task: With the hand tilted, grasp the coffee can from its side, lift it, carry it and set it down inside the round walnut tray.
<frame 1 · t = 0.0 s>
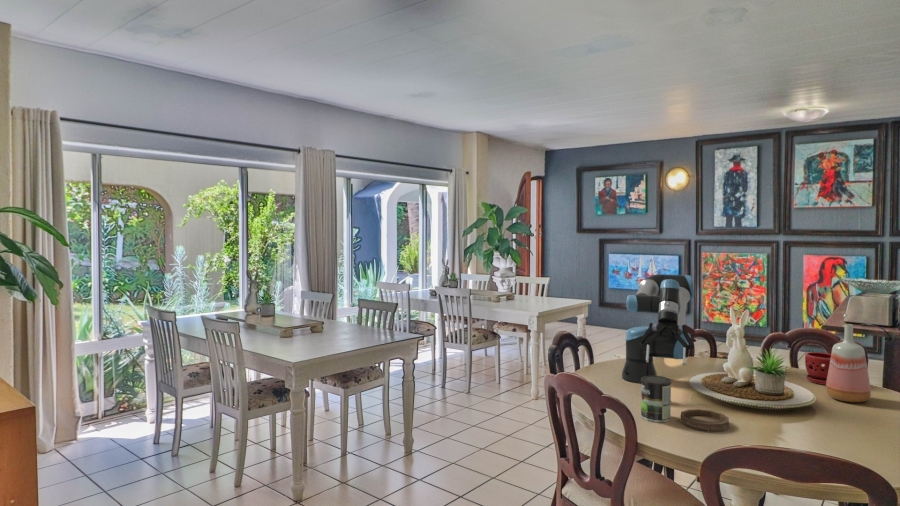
hand: (665, 362, 220), 15 cm above the table, tool tilted 35°, fingers open, 13 cm apart
vase: (847, 399, 220), on the table
coffee can: (655, 418, 203), on the table
onion: (660, 402, 220), on the table
tray: (704, 423, 196), on the table
plant pot: (822, 382, 243), on the table
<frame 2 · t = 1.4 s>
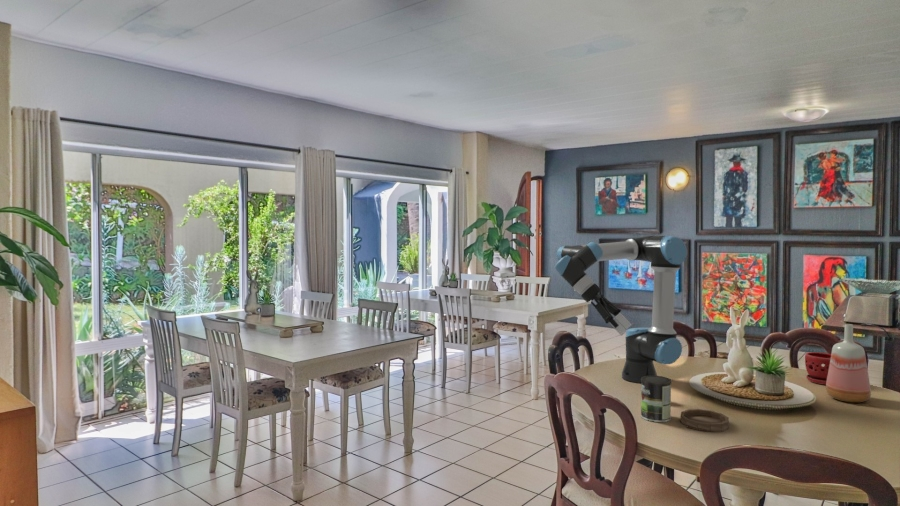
hand: (626, 330, 213), 30 cm above the table, tool tilted 45°, fingers open, 13 cm apart
nothing on the table moved.
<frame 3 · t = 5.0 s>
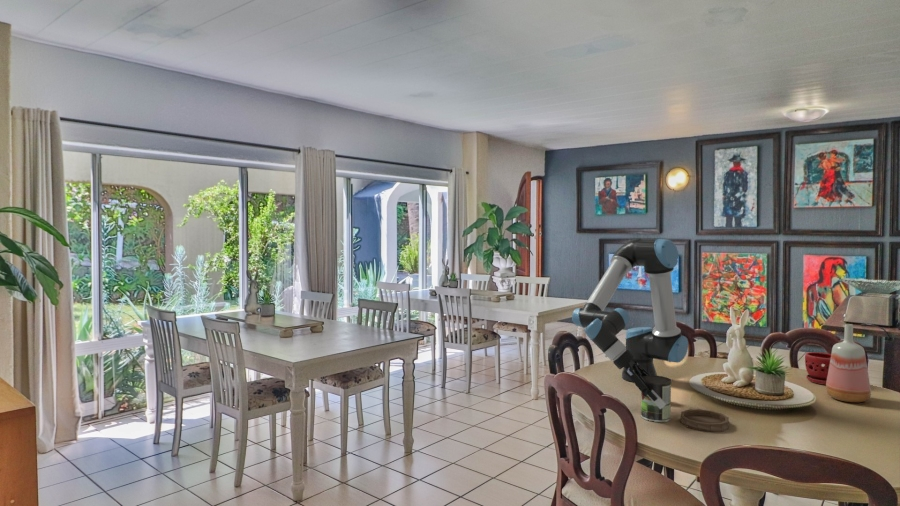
hand: (664, 402, 201), 6 cm above the table, tool tilted 45°, fingers closed on coffee can, 10 cm apart
coffee can: (655, 418, 203), on the table, touching gripper
everything else where it was.
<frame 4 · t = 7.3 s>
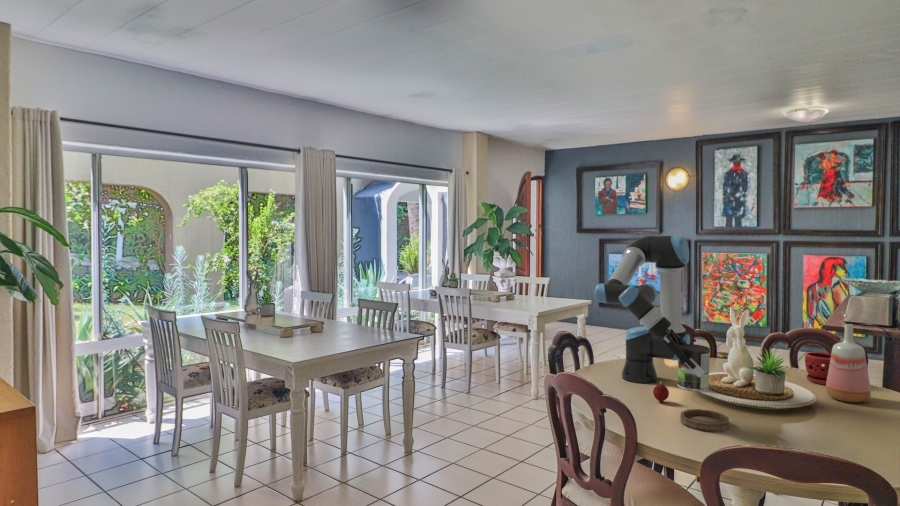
hand: (703, 371, 194), 19 cm above the table, tool tilted 45°, fingers closed on coffee can, 10 cm apart
coffee can: (693, 387, 196), point 13 cm above the table, touching gripper
everything else where it was.
when the fingers open (8 cm above the table, at t = 10.1 s): coffee can drops 2 cm, resting on tray.
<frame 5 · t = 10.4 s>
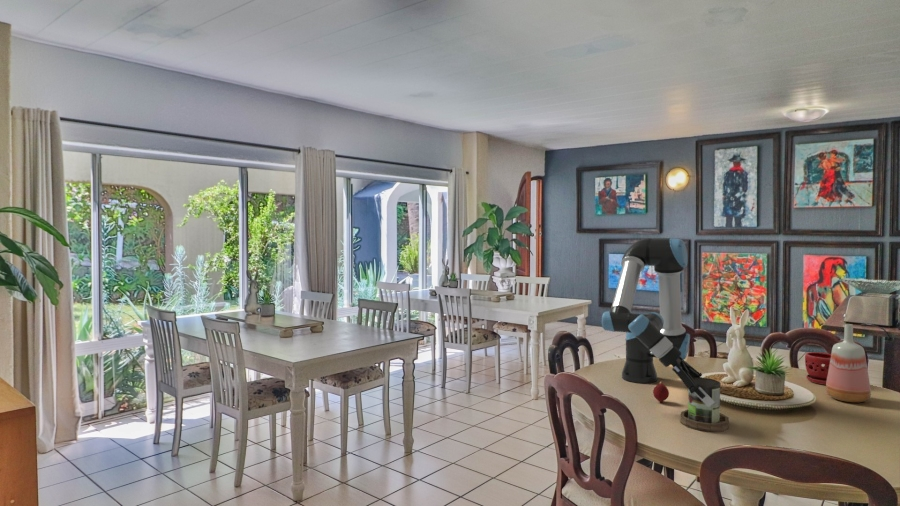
hand: (711, 398, 194), 9 cm above the table, tool tilted 45°, fingers open, 13 cm apart
coffee can: (703, 421, 196), point 1 cm above the table, touching tray
everything else where it was.
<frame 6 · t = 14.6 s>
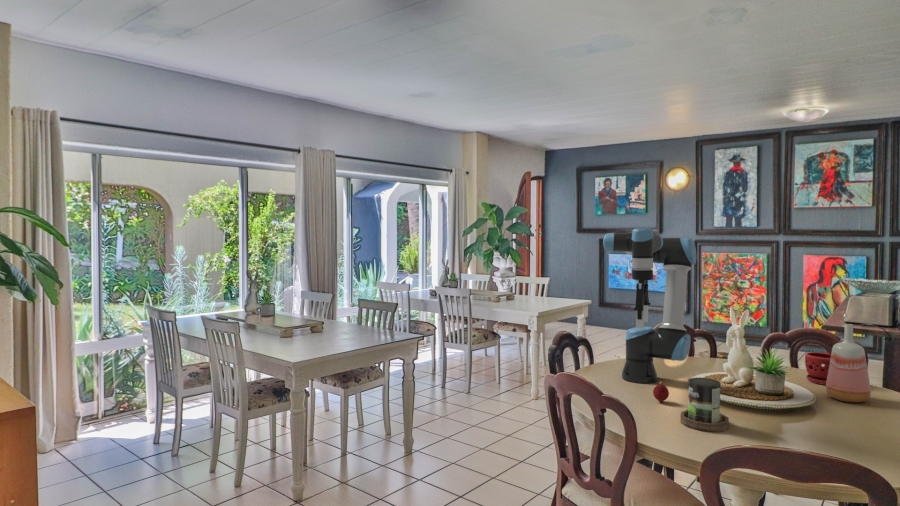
hand: (642, 324, 213), 32 cm above the table, tool pointing down, fingers open, 13 cm apart
nothing on the table moved.
at the end: coffee can inside the target area on the tray (0.2 cm from its centre), point 0.6 cm above the tray's base; coffee can tilted 0°; the gripper is holding nothing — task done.
